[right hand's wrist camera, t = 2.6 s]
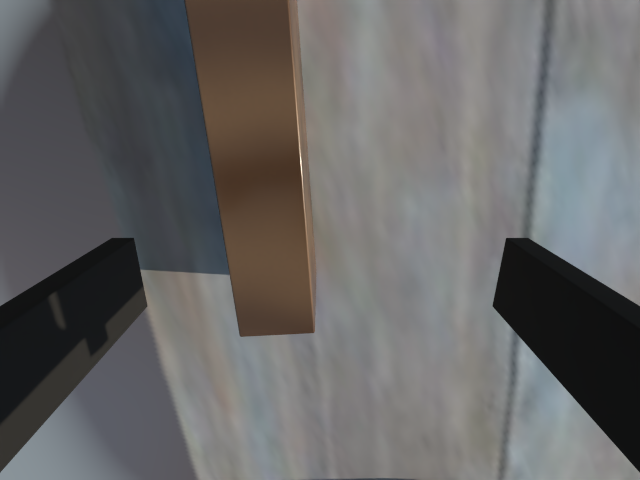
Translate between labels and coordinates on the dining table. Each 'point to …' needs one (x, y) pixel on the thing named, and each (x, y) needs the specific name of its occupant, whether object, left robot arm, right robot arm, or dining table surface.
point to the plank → (258, 157)
